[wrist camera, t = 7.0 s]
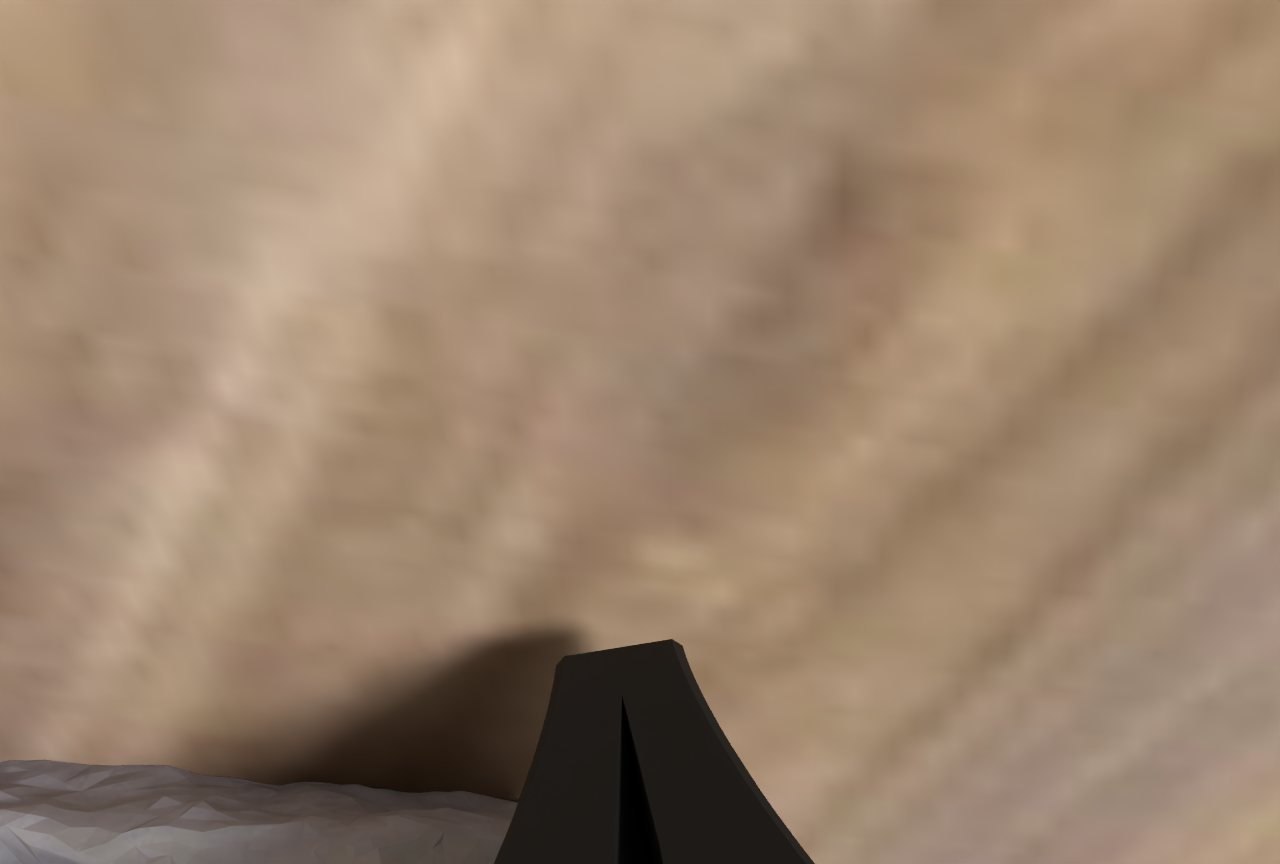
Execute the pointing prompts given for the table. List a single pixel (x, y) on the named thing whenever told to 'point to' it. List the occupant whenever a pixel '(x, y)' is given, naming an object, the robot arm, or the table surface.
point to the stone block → (233, 819)
